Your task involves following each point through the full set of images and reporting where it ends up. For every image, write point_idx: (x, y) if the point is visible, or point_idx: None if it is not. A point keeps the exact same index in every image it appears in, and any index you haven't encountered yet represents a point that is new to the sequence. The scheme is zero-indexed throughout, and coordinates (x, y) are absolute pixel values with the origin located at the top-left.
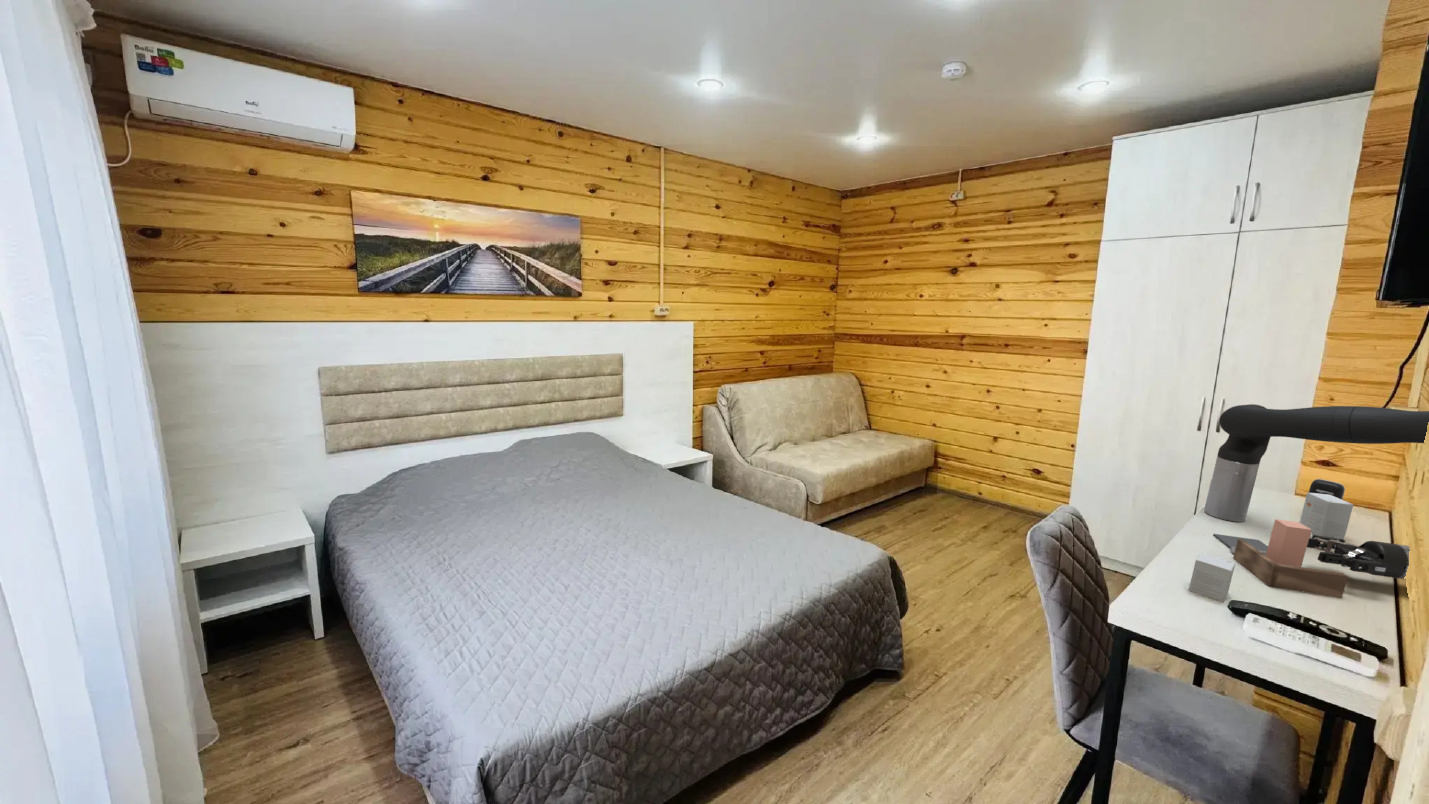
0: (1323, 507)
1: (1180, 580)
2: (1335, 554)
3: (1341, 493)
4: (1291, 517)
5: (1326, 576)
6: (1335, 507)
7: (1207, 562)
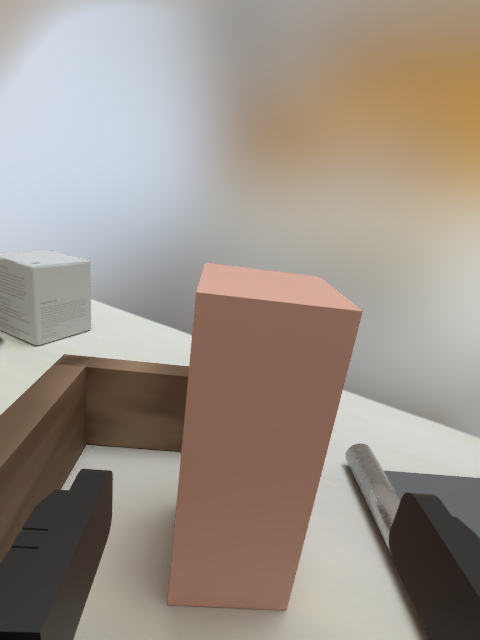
0: None
1: (97, 322)
2: (41, 557)
3: None
4: None
5: None
6: None
7: (36, 251)
